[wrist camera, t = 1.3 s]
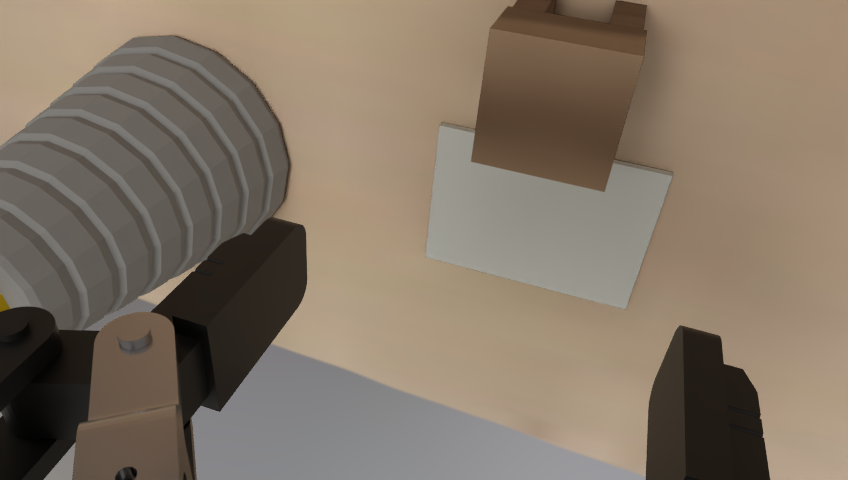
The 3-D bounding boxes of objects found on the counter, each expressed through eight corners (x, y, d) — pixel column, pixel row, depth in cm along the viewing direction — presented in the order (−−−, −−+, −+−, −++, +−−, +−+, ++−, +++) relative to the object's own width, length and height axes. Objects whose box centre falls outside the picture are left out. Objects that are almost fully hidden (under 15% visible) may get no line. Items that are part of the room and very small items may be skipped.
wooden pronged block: (527, -18, 27) (489, 28, 21) (649, 3, 26) (644, 56, 20) (508, 95, 30) (470, 161, 24) (617, 118, 29) (604, 192, 23)
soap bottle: (321, 112, 33) (-7, 397, 17) (257, 267, 41) (-11, 565, 25) (114, -15, 33) (-417, 154, 17) (88, 165, 41) (-294, 399, 25)
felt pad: (441, 122, 31) (439, 125, 31) (672, 172, 29) (672, 176, 29) (427, 253, 36) (425, 257, 36) (625, 304, 34) (625, 309, 34)
